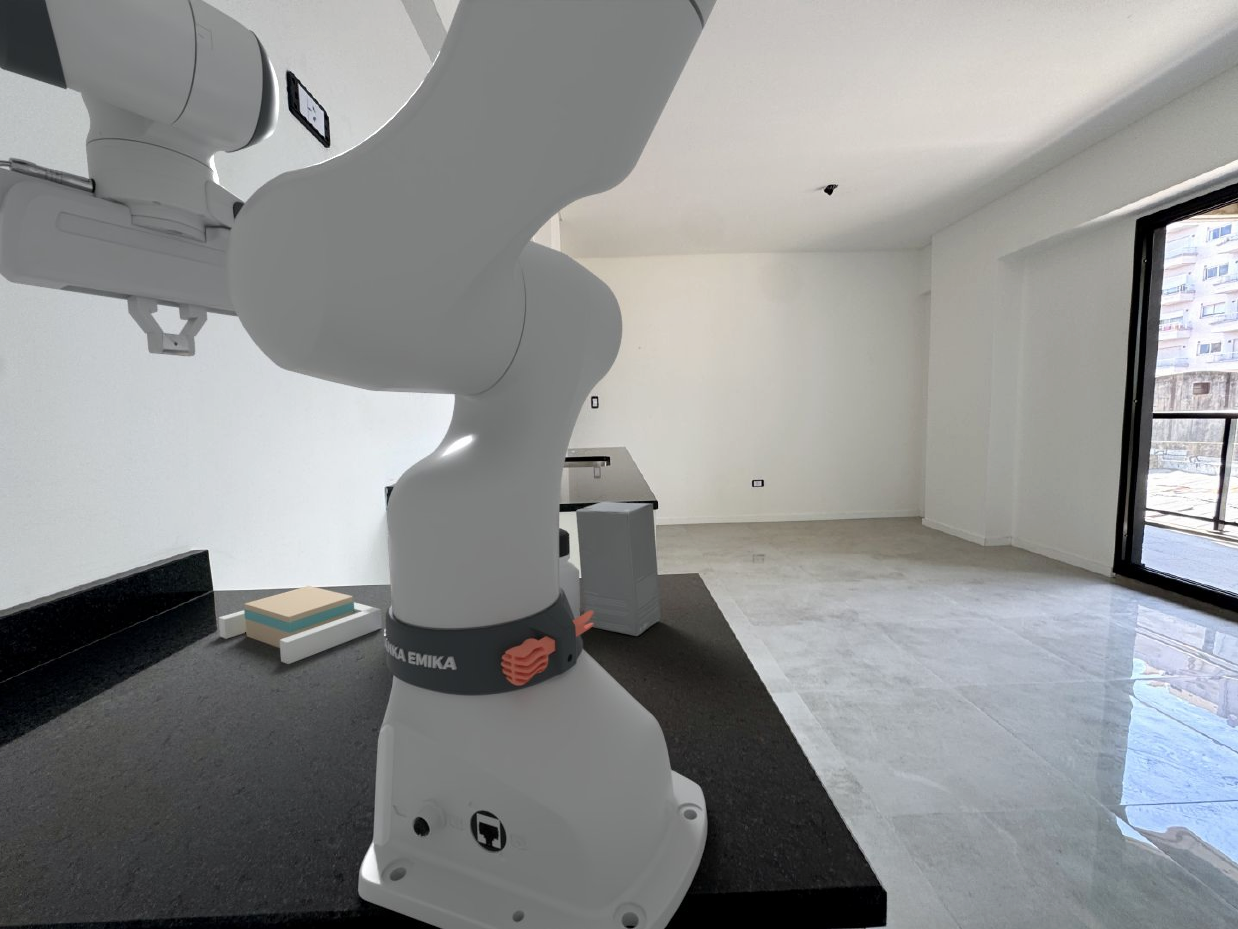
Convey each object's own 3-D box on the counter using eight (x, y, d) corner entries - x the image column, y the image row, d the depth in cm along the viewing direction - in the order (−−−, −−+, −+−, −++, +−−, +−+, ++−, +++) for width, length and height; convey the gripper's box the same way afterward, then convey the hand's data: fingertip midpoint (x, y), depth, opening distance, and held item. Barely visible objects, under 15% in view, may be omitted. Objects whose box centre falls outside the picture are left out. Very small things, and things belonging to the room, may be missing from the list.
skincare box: (661, 621, 67) (660, 502, 66) (633, 641, 61) (631, 510, 60) (608, 610, 72) (605, 498, 70) (577, 627, 66) (574, 505, 64)
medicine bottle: (569, 604, 74) (566, 523, 73) (581, 622, 67) (578, 532, 66) (519, 610, 72) (516, 527, 71) (526, 629, 65) (523, 537, 64)
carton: (355, 629, 67) (353, 596, 67) (291, 654, 60) (288, 617, 59) (310, 617, 72) (308, 585, 71) (246, 638, 65) (243, 603, 64)
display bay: (381, 627, 67) (380, 609, 66) (288, 664, 57) (286, 642, 56) (312, 607, 75) (311, 591, 74) (220, 636, 65) (218, 617, 64)
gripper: (-13, 133, 36) (9, 335, 37) (295, 228, 53) (303, 362, 54) (-33, 158, 39) (-12, 343, 40) (263, 239, 56) (272, 366, 57)
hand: (172, 354), depth 47 cm, fingers closed
